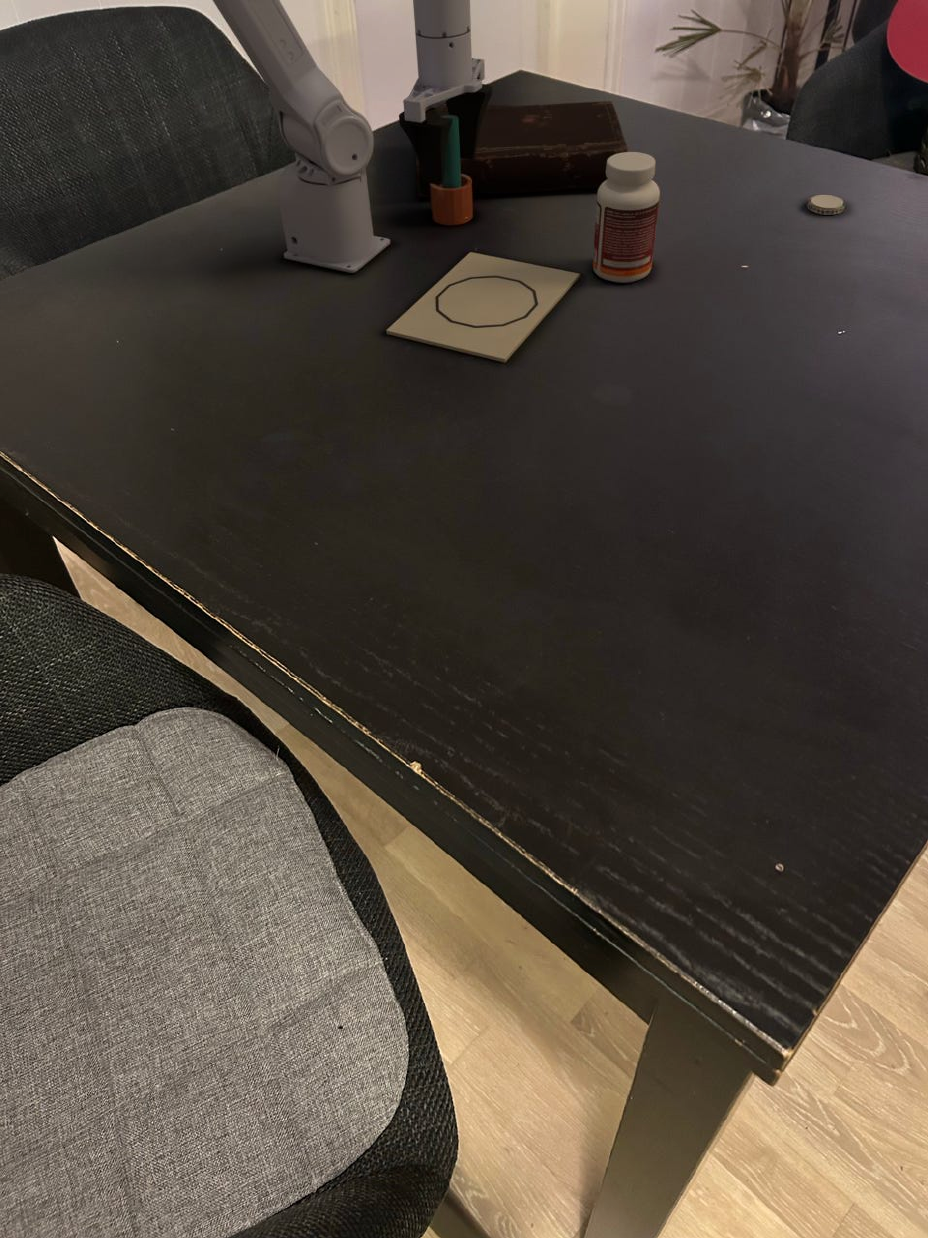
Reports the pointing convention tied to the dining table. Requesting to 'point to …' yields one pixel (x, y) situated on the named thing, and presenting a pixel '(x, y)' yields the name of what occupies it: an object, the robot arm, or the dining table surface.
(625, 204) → the pill bottle
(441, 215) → the pen cup
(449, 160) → the marker
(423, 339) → the sketch pad
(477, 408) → the dining table surface
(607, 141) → the diary
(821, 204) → the beige bottle cap
